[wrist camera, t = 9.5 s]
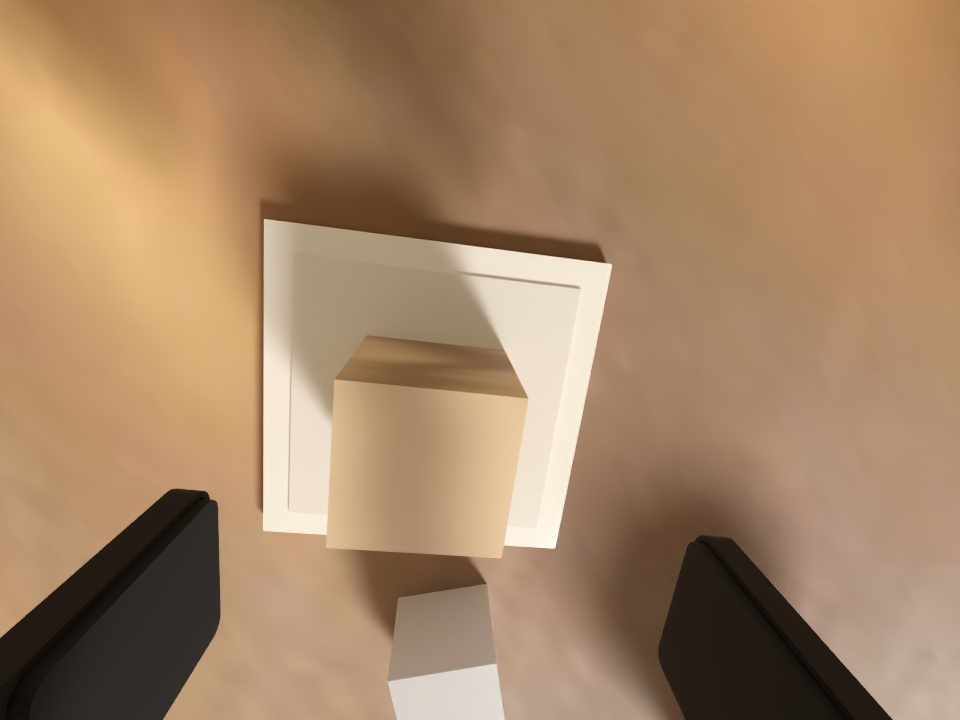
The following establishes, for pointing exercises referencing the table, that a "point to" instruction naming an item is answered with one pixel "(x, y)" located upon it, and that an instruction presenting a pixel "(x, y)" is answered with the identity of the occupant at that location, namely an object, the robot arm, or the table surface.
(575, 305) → the tray
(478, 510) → the oak cube
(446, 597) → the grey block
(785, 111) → the table surface
